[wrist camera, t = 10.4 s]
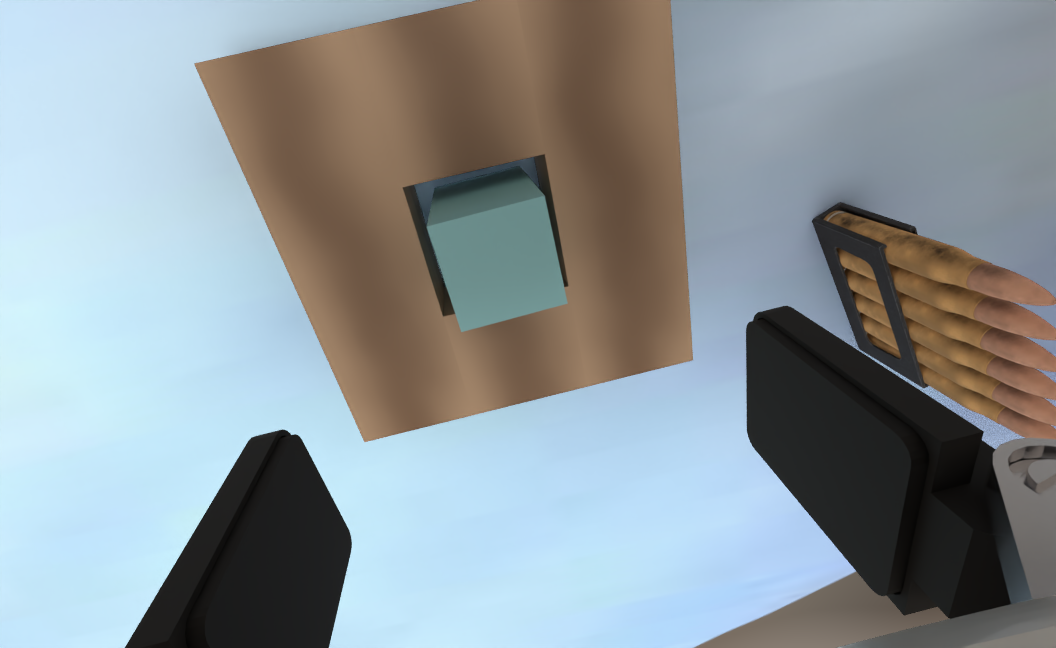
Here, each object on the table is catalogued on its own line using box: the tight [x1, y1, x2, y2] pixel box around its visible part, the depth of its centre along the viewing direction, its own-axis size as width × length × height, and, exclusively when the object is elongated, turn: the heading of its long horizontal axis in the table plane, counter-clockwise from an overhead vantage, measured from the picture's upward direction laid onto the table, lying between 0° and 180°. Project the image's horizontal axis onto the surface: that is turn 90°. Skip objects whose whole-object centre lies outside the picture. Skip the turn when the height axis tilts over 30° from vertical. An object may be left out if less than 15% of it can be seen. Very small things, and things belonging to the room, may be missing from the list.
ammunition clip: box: [812, 202, 1056, 440], centre depth 25 cm, size 11×2×12 cm, turn 33°
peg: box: [427, 166, 568, 332], centre depth 22 cm, size 4×4×8 cm
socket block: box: [195, 0, 693, 442], centre depth 24 cm, size 18×18×4 cm
